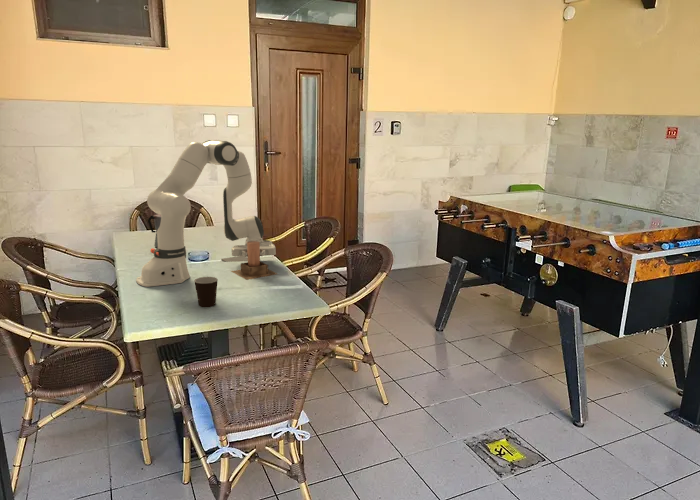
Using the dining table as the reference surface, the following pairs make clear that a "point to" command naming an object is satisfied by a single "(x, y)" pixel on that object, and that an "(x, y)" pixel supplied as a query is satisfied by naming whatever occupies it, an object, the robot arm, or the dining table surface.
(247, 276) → the jug stand
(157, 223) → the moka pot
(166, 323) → the dining table surface
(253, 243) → the brown tall block piece
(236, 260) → the mat
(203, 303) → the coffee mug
